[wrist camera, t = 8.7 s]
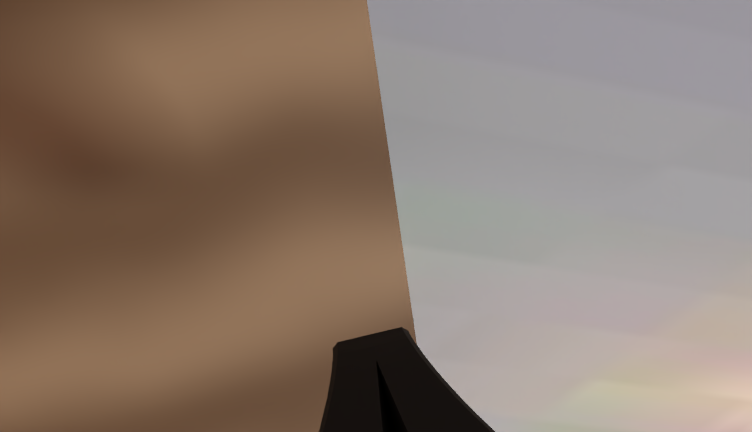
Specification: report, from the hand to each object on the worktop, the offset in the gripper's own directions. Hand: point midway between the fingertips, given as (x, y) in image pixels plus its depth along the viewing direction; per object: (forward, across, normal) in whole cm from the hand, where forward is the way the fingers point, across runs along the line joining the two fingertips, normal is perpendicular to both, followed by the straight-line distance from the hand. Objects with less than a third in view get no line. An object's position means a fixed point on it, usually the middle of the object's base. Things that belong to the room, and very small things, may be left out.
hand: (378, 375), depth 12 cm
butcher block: (+9, +6, -2) cm, 11 cm away
